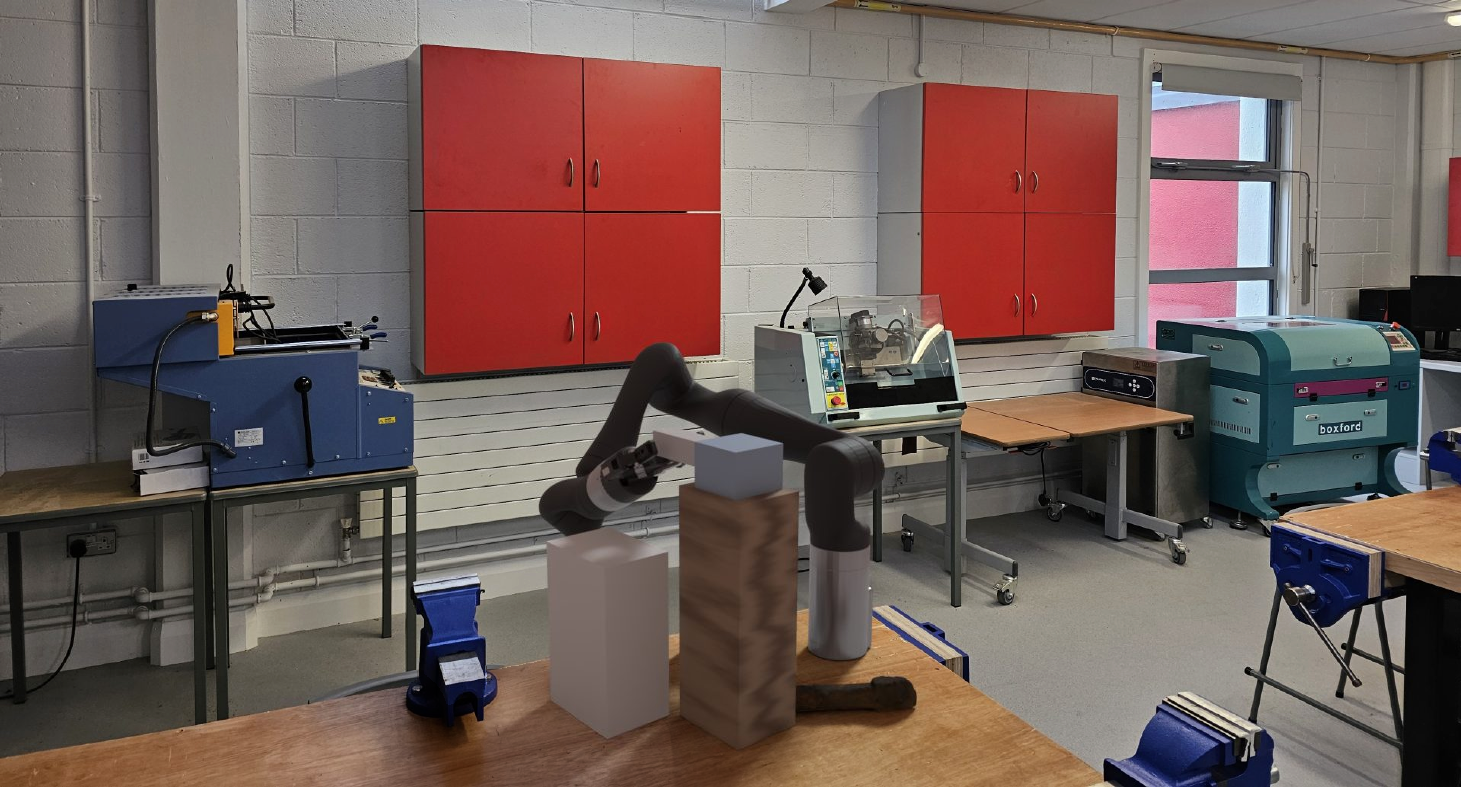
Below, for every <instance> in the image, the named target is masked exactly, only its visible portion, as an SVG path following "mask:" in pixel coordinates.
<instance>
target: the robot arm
mask: <svg viewBox="0 0 1461 787" xmlns="http://www.w3.org/2000/svg"><path fill="white" fill-rule="evenodd" d="M684 359H685V358H684V357H683V354H682V353H681V352H680V350H679V349H678V347H677V346H676V345H674V344H673V343H669V342H665V341H664V342H663V341H661V342H655V343H653V344H651V345H648V346H646V347H645V348H644V349H642V350H641V351H640V352H639V353H638V354H637V356H636V357H635V359H634V360H633V362H632V364H631V366H630V368H629V370H628V372H627V375H626V377H625V379H624V381H623V384H622V386H621V388H620V391H619V392H618V394H617V396H616V400H615V401H614V403H613V406H612V407H611V410H610V412H609V414H608V416H607V418H606V420H605V422H604V423H603V426H602V427H601V429H600V431H599V432H598V434H597V435H596V437H595V438H594V440H593V441H592V443H591V444H590V446H589V447H588V449H587V450H586V451H585V453H584V454H583V456H582V457H581V459H580V460H579V462H578V464H577V465H576V467H575V471H574V472H575V476H576V477H573V478H572V477H571V478H567V479H563V480H560V481H558V482H556V483H554V484H552V485H550V486H549V487H548V488H547V489H545V491H544V492H543V493H542V494H541V497H540V499H539V501H538V512H539V515H540V517H541V518H542V519H543V520H544V521H545V522H547V523H548V524H549V525H551V527H553V528H554V529H556V530H557V531H558V532H559V533H561V534H562V535H563V536H564V537H567V536H571V535H575V534H580V533H584V532H588V531H593V530H597V529H601V528H602V526H603V524H604V521H605V518H607V517H608V516H610V515H612V514H614V513H615V512H617V511H618V510H621V509H623V508H626V507H628V506H629V505H631V504H632V503H634V502H636V501H638V500H639V499H641V498H642V497H644V496H647V494H649V493H650V492H652V491H653V490H654V489H655V487H656V485H657V483H658V479H659V476H661V475H663V474H665V473H666V471H670V470H671V469H674V468H676V469H681V468H683V467H684V466H686V465H687V464H684V463H681V462H677V461H674V460H671V459H667V458H664V457H661V456H657V454H658V450H657V447H656V444H655V441H654V440H653V439H649V440H646V441H644V442H643V443H642V444H641V445H639V446H637V445H638V441H639V437H640V434H641V429H642V425H643V419H644V416H645V413H646V411H647V407H648V405H650V406H651V407H652V408H653V409H654V410H657V411H658V412H661V413H664V414H667V415H669V416H673V417H675V418H678V419H681V420H684V421H687V422H689V423H691V424H694V425H696V426H697V427H700V428H701V429H703V430H706V431H707V432H710V433H711V434H714V435H716V436H718V437H723V436H729V435H734V434H740V433H743V434H747V435H751V436H755V437H759V438H763V439H767V440H771V441H775V442H779V443H783V461H789V462H795V463H799V464H803V465H804V469H803V470H804V471H803V492H804V493H803V494H804V496H803V497H804V498H803V499H804V516H805V522H806V525H807V529H808V532H809V570H808V571H809V573H808V574H809V580H808V622H807V623H808V627H807V629H808V630H807V631H808V633H807V649H808V650H809V652H810V653H811V654H813V655H815V656H817V657H819V658H823V659H826V660H833V661H850V660H855V659H858V658H861V657H863V656H864V655H865V654H866V653H867V652H868V649H869V648H870V647H872V642H873V640H872V639H873V638H872V637H873V635H872V634H873V610H874V608H873V607H874V606H873V605H874V604H873V602H874V590H873V588H872V587H871V586H870V569H871V565H870V564H871V539H872V538H871V536H872V534H871V533H872V532H871V527H870V525H869V524H868V523H867V522H866V521H865V520H864V521H863V520H862V519H858V518H856V515H855V499H856V498H859V497H863V496H865V495H868V494H870V493H871V492H873V491H874V490H876V489H877V488H878V487H879V486H880V485H881V484H882V482H883V480H884V479H885V473H886V467H885V462H884V459H883V457H882V454H881V452H879V450H878V449H877V448H876V447H875V445H873V444H872V443H871V442H870V441H868V440H867V439H866V438H863V437H862V436H861V437H860V436H857V435H855V434H851V433H848V432H845V431H843V430H839V429H836V428H832V427H829V426H827V425H824V424H821V423H818V422H817V421H813V420H811V419H809V418H808V417H805V416H803V415H801V414H799V413H798V412H795V411H793V410H792V409H788V408H786V407H784V406H782V405H780V404H778V403H777V402H774V401H772V400H770V399H769V398H766V397H763V396H761V395H759V394H757V393H755V392H753V391H751V390H748V389H745V388H740V387H739V388H738V387H737V388H736V387H735V388H729V389H725V390H721V391H713V390H712V389H709V388H707V387H705V386H703V385H702V384H700V383H698V382H697V381H696V380H695V379H694V378H693V376H692V375H691V373H690V371H689V369H688V367H687V364H686V361H685V360H684ZM696 433H697V434H701V435H705V432H704V431H702V430H701V431H697V432H696ZM705 436H706V435H705Z"/></svg>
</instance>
